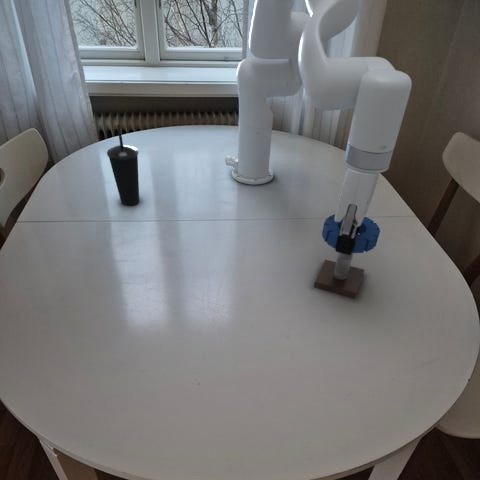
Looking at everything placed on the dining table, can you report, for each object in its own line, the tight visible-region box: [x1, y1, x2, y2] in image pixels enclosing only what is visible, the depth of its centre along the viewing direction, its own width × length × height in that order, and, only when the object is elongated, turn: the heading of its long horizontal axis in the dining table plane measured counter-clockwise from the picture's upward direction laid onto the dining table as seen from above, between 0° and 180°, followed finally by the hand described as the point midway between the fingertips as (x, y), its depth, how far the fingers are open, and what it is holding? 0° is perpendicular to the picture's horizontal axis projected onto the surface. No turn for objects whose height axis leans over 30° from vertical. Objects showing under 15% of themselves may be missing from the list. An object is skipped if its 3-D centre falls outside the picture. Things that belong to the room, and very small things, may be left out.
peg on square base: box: [313, 252, 365, 299], centre depth 91 cm, size 9×9×12 cm
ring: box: [321, 213, 381, 254], centre depth 86 cm, size 11×11×3 cm
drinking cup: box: [106, 124, 140, 207], centre depth 110 cm, size 8×8×20 cm
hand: (345, 247), depth 84 cm, fingers closed on ring, 3 cm apart
